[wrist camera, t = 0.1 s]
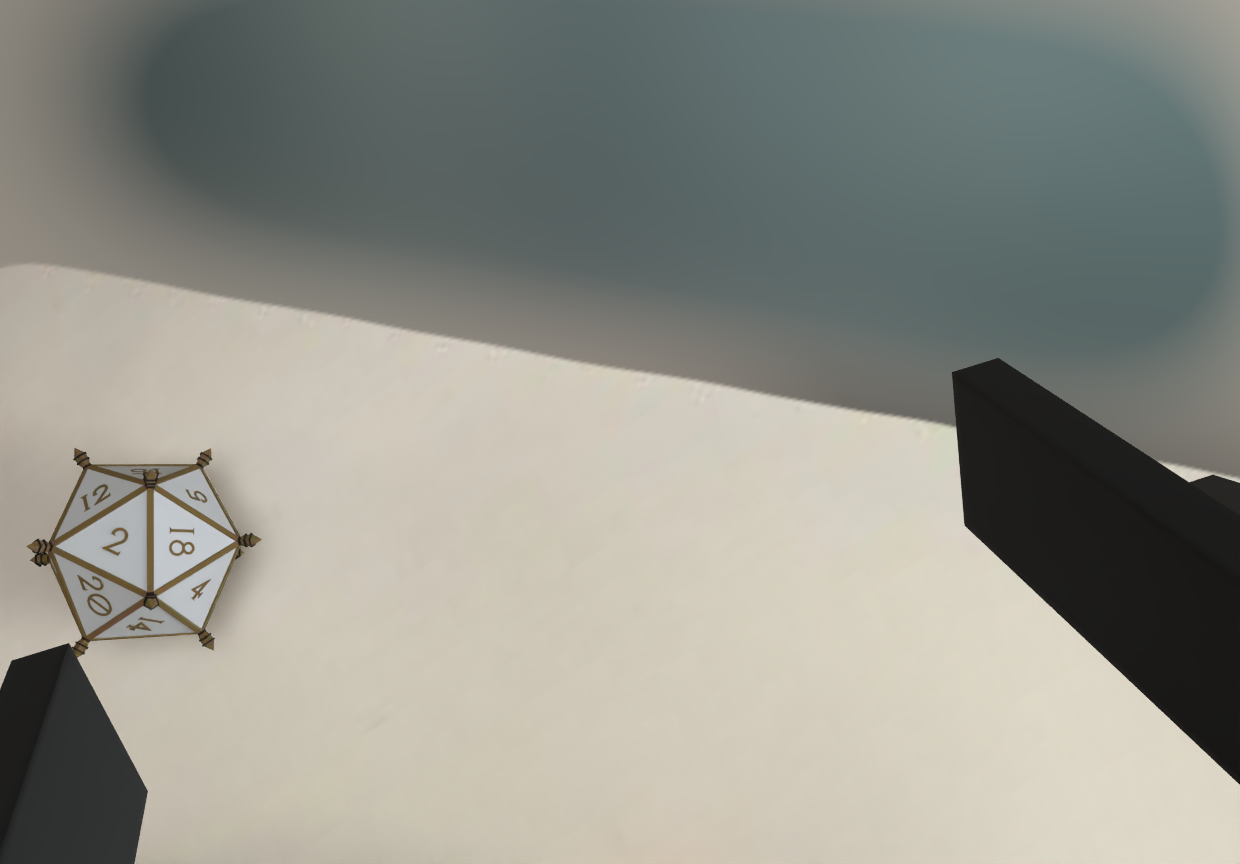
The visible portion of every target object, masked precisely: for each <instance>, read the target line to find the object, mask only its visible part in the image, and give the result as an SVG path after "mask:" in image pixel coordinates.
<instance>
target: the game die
mask: <svg viewBox="0 0 1240 864" xmlns="http://www.w3.org/2000/svg"><path fill="white" fill-rule="evenodd" d="M73 460H75V461H76V462H77V465H80V466H81V467H83V471H82V474H81V476H80V478H79V480H78V482H77V484H76V486H75V488H74V490H73V493H72V495H71V497H70V499H69V501H68V503H67V505H66V507H65V509H64V512H63V514H62V516H61V518H60V520H59V522H58V524H57V526H56V528H55V531H54V533H53V535H52V537H51V539H50V541H49V542H46V541H45V540H44V539H43V540H42V541H40V540H39V539H37V540H35V541H34V542H33V543H32V544H30V545H28V546H26V547H28V548H29V549H31V550H32V552H33V553H36V555H35V557H33V558H32V559H31V560H30V561H32V562H34V563H35V564H36V565H38V566H39V567H41V565H44V566H46V565H47V564H48V563H50V565H51V567H52V569H53V571H54V574H55V576H56V578H57V581H58V583H59V585H60V587H61V590H62V592H63V594H64V596H65V599H66V601H67V603H68V606H69V608H70V610H71V612H72V615H73V617H74V619H75V621H76V624H77V626H78V628H79V630H80V633H81V635H82V638H81V639H80V640H79V641H78V642H75V643H76V645H75V646H74V647H72V649H73V652H74V654H75V655H76V657H79V656H81V655H82V654H85V653H84V652H85V650H86V649H88V647H87V646H88V643H89V642H90V641H97V640H112V639H128V638H143V637H158V636H174V635H189V634H198V635H199V638H200V640H199V641H201V642H202V644H203V645H202V646H205V647H207V648H209V649H212V650H214V639H215V638H212V636H211V633H210V634H209V633H208V632H206V630H205V628H206V625H207V623H208V621H209V618H210V616H211V614H212V611H213V609H214V607H215V605H216V602H217V600H218V598H219V595H220V593H221V591H222V588H223V586H224V584H225V581H226V579H227V577H228V574H229V572H230V570H231V567H232V565H233V563H234V560H235V559H237V558H238V557H240V556H241V554H243V552H242V551H241V550H240V546H241V545H243V546H245V547H248V546H251V547H253V546H254V545H255V544H256V543H257V542H259V541H260V540H262V539H260V538H258V537H256V536H254V535H253V534H252V533H250V535H247V534H245V535H244V536H242V537H240V535H239V534H238V532H237V530H236V528H235V526H234V525H233V523H232V521H231V519H230V517H229V515H228V514H227V512H226V510H225V508H224V506H223V505H222V503H221V501H220V499H219V497H218V495H217V494H216V492H215V490H214V488H213V486H212V485H211V483H210V481H209V479H208V477H207V476H206V474H205V472H204V470H203V468H204V466H206V465H209V461H210V460H212V458H211V448H210V449H208V450H206V451H204V452H203V453H202V452H201V453H200V457H198V459H197V460H198V461H197V464H143V465H92V464H90V462H89V457H87V455H86V452H82V451H80V450H78V449H76V448H75V452H74V459H73ZM45 552H48V554H47V553H45ZM41 553H42V554H41Z"/></svg>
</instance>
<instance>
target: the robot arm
mask: <svg viewBox="0 0 1240 864" xmlns="http://www.w3.org/2000/svg"><path fill="white" fill-rule="evenodd" d="M952 379H953V390H954V403H955V415H956V428H957V440H958V452H959V464H960V476H961V488H962V500H963V512H964V524H965V526H966V527H967V528H968V529H969V530H970V531H971V532H972V533H973V534H974V535H975V536H976V537H977V538H979V539H980V540H981V541H982V542H983V543H984V544H985V545H986V546H987V547H988V548H989V549H990V550H991V551H992V552H993V553H994V554H996V555H997V556H998V557H999V558H1000V559H1001V560H1002V561H1003V562H1004V563H1005V564H1006V565H1007V566H1008V567H1009V568H1010V569H1011V570H1013V571H1014V572H1015V573H1016V574H1017V575H1018V576H1019V577H1020V578H1021V579H1022V580H1023V581H1024V582H1025V583H1026V584H1027V585H1028V586H1029V587H1031V588H1032V589H1033V590H1034V591H1035V592H1036V593H1037V594H1038V595H1039V596H1040V597H1041V598H1042V599H1043V600H1044V601H1045V602H1046V603H1048V604H1049V605H1050V606H1051V607H1052V608H1053V609H1054V610H1055V611H1056V612H1057V613H1058V614H1059V615H1060V616H1061V617H1062V618H1063V619H1065V620H1066V621H1067V622H1068V623H1069V624H1070V625H1071V626H1072V627H1073V628H1074V629H1075V630H1076V631H1077V632H1078V633H1079V634H1080V635H1082V636H1083V637H1084V638H1085V639H1086V640H1087V641H1088V642H1089V643H1090V644H1091V645H1092V646H1093V647H1094V648H1095V649H1096V650H1097V651H1098V652H1100V653H1101V654H1102V655H1103V656H1104V657H1105V658H1106V659H1107V660H1108V661H1109V662H1110V663H1111V664H1112V665H1113V666H1114V667H1115V668H1117V669H1118V670H1119V671H1120V672H1121V673H1122V674H1123V675H1124V676H1125V677H1126V678H1127V679H1128V680H1129V681H1130V682H1131V683H1132V684H1134V685H1135V686H1136V687H1137V688H1138V689H1139V690H1140V691H1141V692H1142V693H1143V694H1144V695H1145V696H1146V697H1147V698H1148V699H1149V700H1151V701H1152V702H1153V703H1154V704H1155V705H1156V706H1157V707H1158V708H1159V709H1160V710H1161V711H1162V712H1163V713H1164V714H1165V715H1166V716H1167V717H1169V718H1170V719H1171V720H1172V721H1173V722H1174V723H1175V724H1176V725H1177V726H1178V727H1179V728H1180V729H1181V730H1182V731H1183V732H1184V733H1186V734H1187V735H1188V736H1189V737H1190V738H1191V739H1192V740H1193V741H1194V742H1195V743H1196V744H1197V745H1198V746H1199V747H1200V748H1201V749H1203V750H1204V751H1205V752H1206V753H1207V754H1208V755H1209V756H1210V757H1211V758H1212V759H1213V760H1214V761H1215V762H1216V763H1217V764H1218V765H1220V766H1221V767H1222V768H1223V769H1224V770H1225V771H1226V772H1227V773H1228V774H1229V775H1230V776H1231V777H1232V778H1233V779H1234V780H1235V781H1236V782H1238V783H1239V784H1240V483H1238V482H1235V481H1232V480H1228V479H1225V478H1222V477H1219V476H1215V475H1210V476H1207V477H1204V478H1201V479H1198V480H1195V481H1192V482H1188V481H1186V480H1184V479H1183V478H1181V477H1180V476H1178V475H1177V474H1175V473H1174V472H1172V471H1171V470H1169V469H1168V468H1166V467H1165V466H1163V465H1161V464H1160V463H1158V462H1157V461H1155V460H1154V459H1152V458H1151V457H1149V456H1148V455H1146V454H1144V453H1143V452H1141V451H1140V450H1138V449H1137V448H1135V447H1134V446H1132V445H1131V444H1129V443H1128V442H1126V441H1125V440H1123V439H1122V438H1120V437H1118V436H1117V435H1115V434H1114V433H1112V432H1111V431H1109V430H1107V429H1106V428H1105V427H1103V426H1102V425H1100V424H1099V423H1097V422H1095V421H1094V420H1092V419H1091V418H1089V417H1088V416H1086V415H1085V414H1083V413H1082V412H1080V411H1079V410H1077V409H1076V408H1074V407H1073V406H1071V405H1070V404H1068V403H1066V402H1065V401H1063V400H1062V399H1060V398H1059V397H1057V396H1056V395H1054V394H1053V393H1051V392H1050V391H1048V390H1046V389H1045V388H1043V387H1042V386H1040V385H1039V384H1037V383H1036V382H1034V381H1033V380H1031V379H1030V378H1028V377H1026V376H1025V375H1024V374H1022V373H1020V372H1019V371H1017V370H1016V369H1014V368H1013V367H1011V366H1010V365H1008V364H1007V363H1005V362H1004V361H1002V360H1001V359H999V358H997V359H994V360H990V361H987V362H984V363H981V364H977V365H974V366H971V367H968V368H964V369H961V370H958V371H955V372H952ZM147 792H148V791H147V789H146V787H145V785H144V783H143V781H142V779H141V778H140V776H139V774H138V772H137V770H136V768H135V766H134V764H133V763H132V761H131V759H130V757H129V755H128V753H127V751H126V749H125V748H124V746H123V744H122V742H121V740H120V738H119V736H118V734H117V732H116V731H115V729H114V727H113V725H112V723H111V721H110V719H109V717H108V716H107V714H106V712H105V710H104V708H103V706H102V704H101V702H100V701H99V699H98V697H97V695H96V693H95V691H94V689H93V687H92V686H91V684H90V682H89V680H88V678H87V676H86V674H85V672H84V670H83V669H82V667H81V665H80V663H79V661H78V659H77V657H76V655H75V654H74V652H73V650H72V648H71V646H70V644H69V643H68V644H65V645H61V646H58V647H55V648H52V649H48V650H45V651H42V652H38V653H35V654H32V655H29V656H25V657H22V658H19V659H16V660H12V661H11V664H10V666H9V669H8V671H7V674H6V676H5V679H4V681H3V684H2V686H1V689H0V864H134V863H135V857H136V852H137V846H138V841H139V836H140V830H141V825H142V819H143V814H144V809H145V803H146V798H147Z"/></svg>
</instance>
